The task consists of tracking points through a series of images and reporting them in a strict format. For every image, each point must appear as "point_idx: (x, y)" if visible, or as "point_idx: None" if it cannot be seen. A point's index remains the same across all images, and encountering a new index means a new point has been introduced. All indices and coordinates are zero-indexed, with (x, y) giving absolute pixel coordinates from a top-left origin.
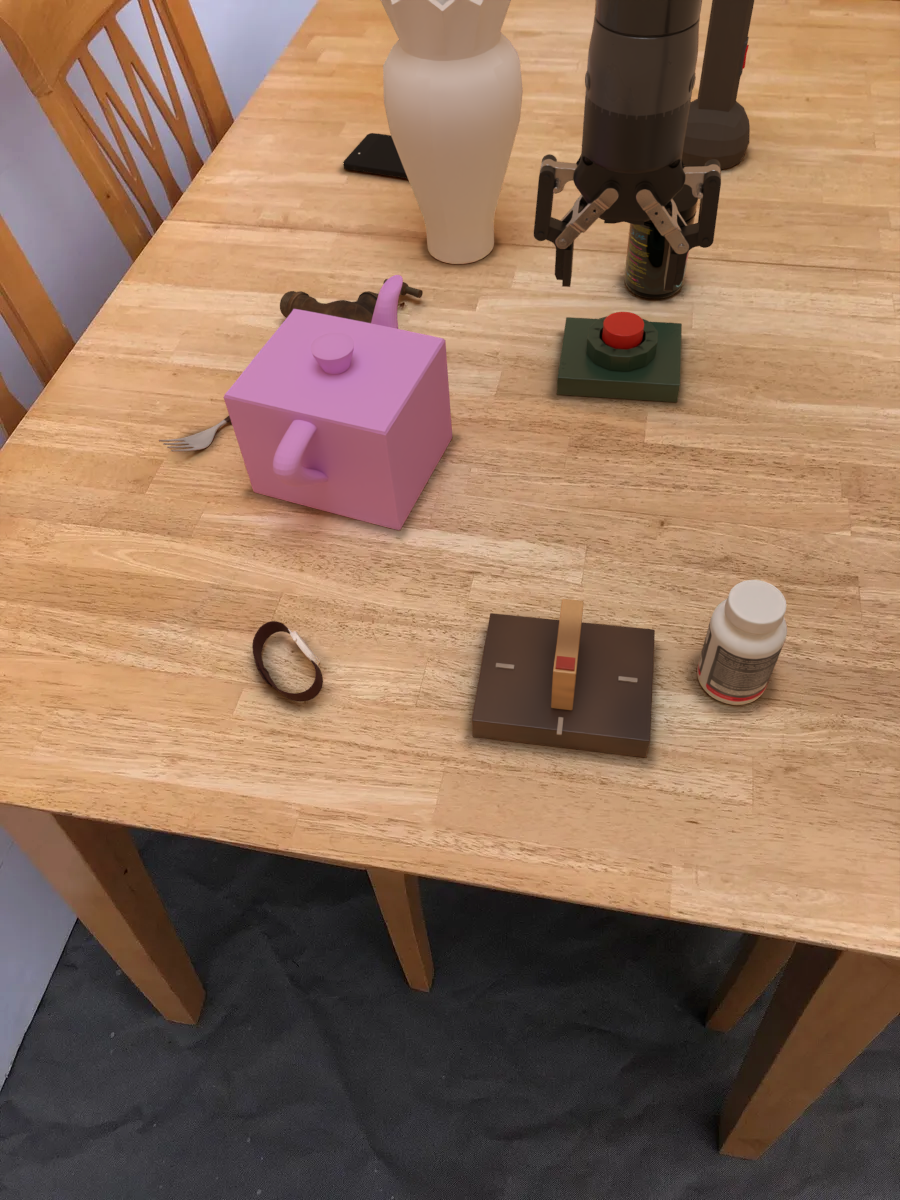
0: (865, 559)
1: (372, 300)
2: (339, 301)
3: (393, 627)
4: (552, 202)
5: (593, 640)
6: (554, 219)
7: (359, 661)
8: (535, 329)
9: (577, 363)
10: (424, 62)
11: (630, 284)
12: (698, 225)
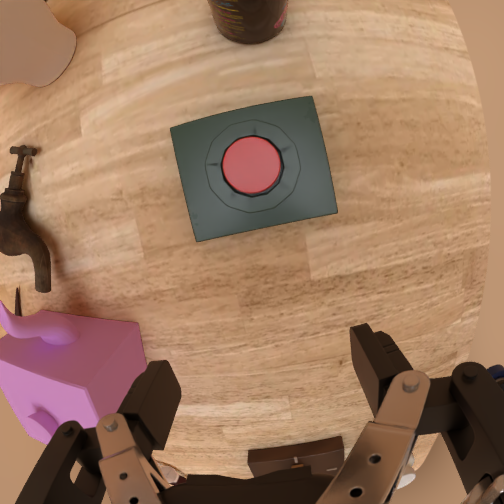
0: (464, 336)
1: (7, 204)
2: None
3: (196, 453)
4: (69, 473)
5: (310, 462)
6: (92, 451)
7: (191, 465)
8: (143, 136)
9: (209, 210)
10: None
11: (227, 35)
12: (454, 411)
